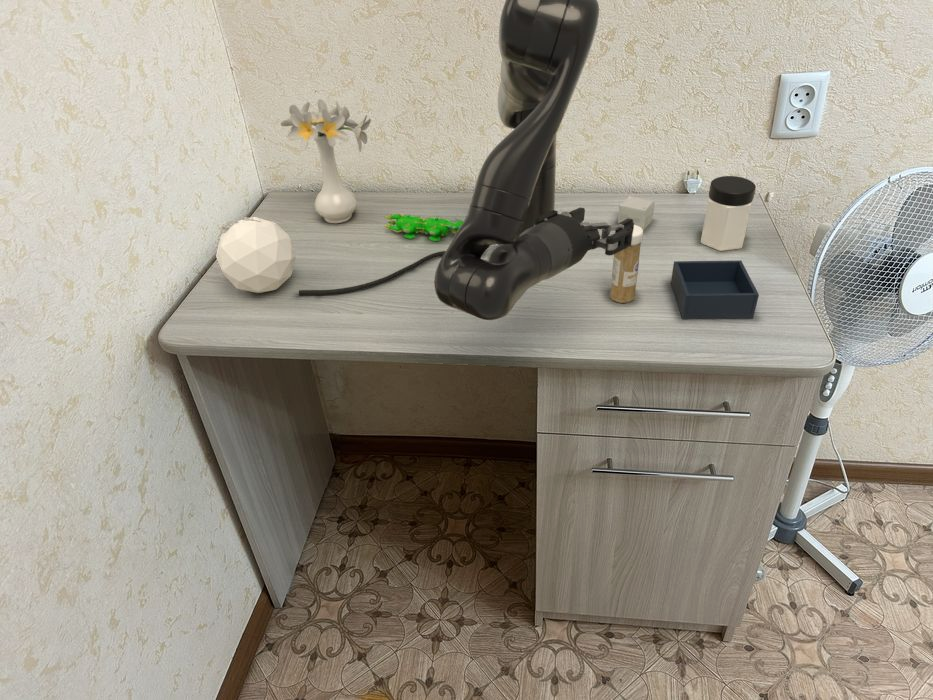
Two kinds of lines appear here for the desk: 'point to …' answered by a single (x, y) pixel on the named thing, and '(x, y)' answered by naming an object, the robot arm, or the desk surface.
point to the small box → (637, 211)
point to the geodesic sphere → (255, 255)
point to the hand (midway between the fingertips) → (606, 219)
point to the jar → (727, 212)
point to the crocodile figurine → (423, 225)
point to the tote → (713, 290)
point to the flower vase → (328, 153)
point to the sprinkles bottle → (626, 269)
